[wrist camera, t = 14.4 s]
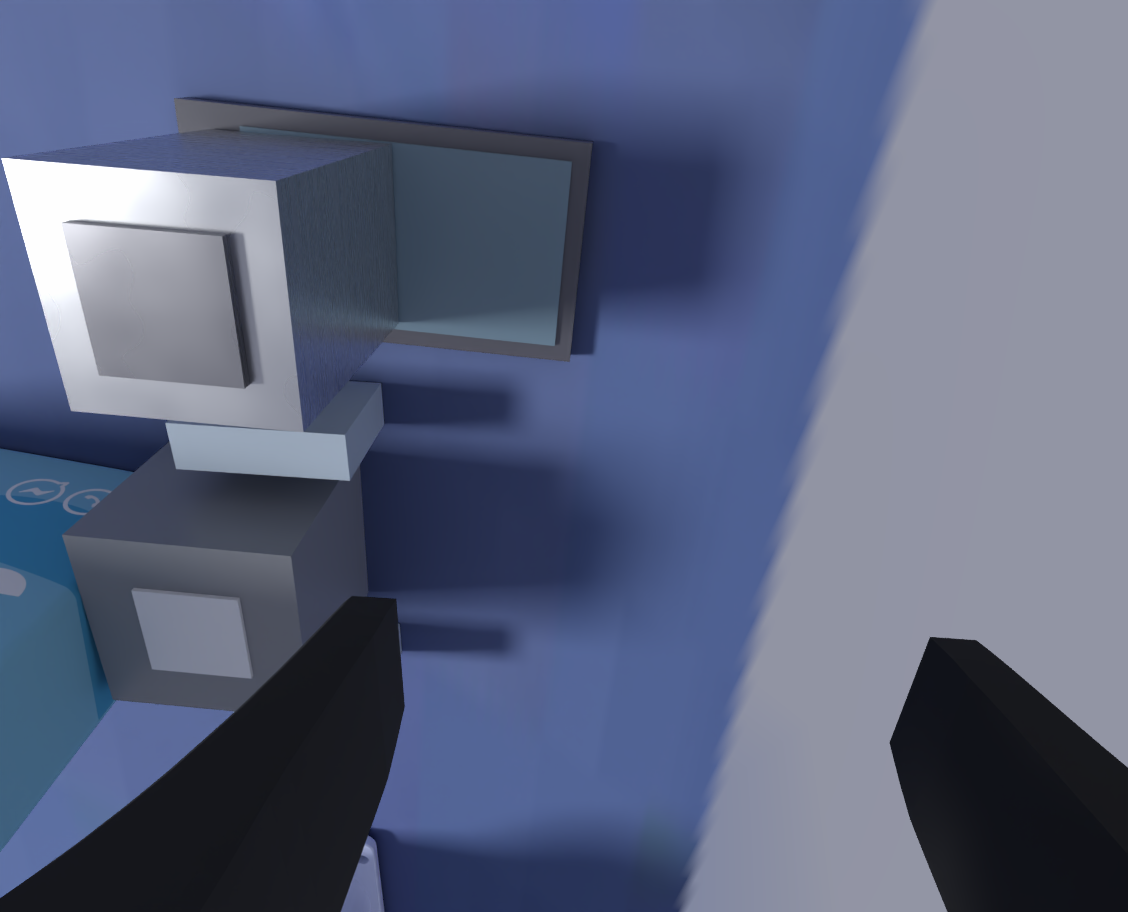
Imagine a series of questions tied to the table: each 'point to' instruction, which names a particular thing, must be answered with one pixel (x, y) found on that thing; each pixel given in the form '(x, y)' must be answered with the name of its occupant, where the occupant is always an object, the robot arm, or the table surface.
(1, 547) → the data package
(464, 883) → the table surface
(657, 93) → the table surface
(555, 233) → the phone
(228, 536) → the cube
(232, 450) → the socket rails
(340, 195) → the metal plug
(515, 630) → the table surface
